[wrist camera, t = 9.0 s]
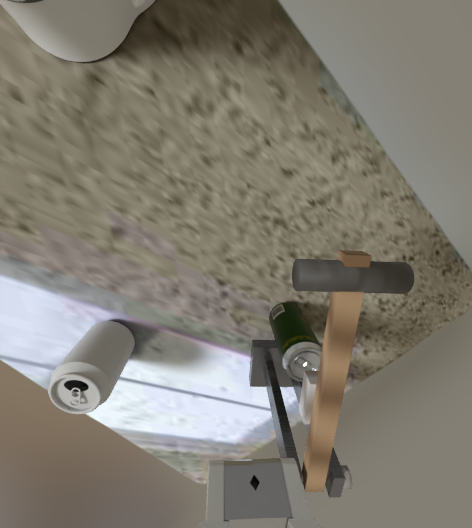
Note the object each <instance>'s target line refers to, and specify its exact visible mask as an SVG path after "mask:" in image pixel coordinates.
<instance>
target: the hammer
mask: <svg viewBox="0 0 472 528" xmlns="http://www.w3.org/2000/svg"><path fill="white" fill-rule="evenodd" d="M371 257H372V256H371V255H369V254H367V253H365V252H363V251H344V250H338V256H337V260H315V259H296V260H295V262H294V265H293V270H292V282H293V287H294V289H295V290H296V291H321V292H332V293H331V299H330V305H329V311H328V317H327V323H326V329H325V335H324V341H323V347H322V353H321V359H320V365H319V371H310V370H304V376H303V383H302V390H301V397H300V403H299V411H300V414H301V417H302V420H303V422H304V424H310V426H309V432H308V439H307V444H306V450H305V456H304V462H303V469H302V475H303V485H304V489H305V492H313V491H314V492H317V491H324V487H325V482H326V477H327V472H328V467H329V463H330V458H331V453H332V448H333V442H334V438H335V433H336V428H337V423H338V418H339V414H340V408H341V404H342V399H343V394H344V389H345V384H346V379H347V374H348V369H349V364H350V360H351V355H352V350H353V345H354V340H355V335H356V330H357V325H358V320H359V315H360V311H361V306H362V301H363V296H364V293H396V294H405V293H408V292H409V291H410V290H411V288H412V287H413V284H414V273H413V270H412V268H411V266H410V265H409V264H407V263H404V262H374V261H371Z"/></svg>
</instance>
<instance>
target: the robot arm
mask: <svg viewBox="0 0 472 528" xmlns="http://www.w3.org/2000/svg"><path fill="white" fill-rule="evenodd" d="M154 1H155V0H0V4H1V5H2V6H3V7H4V9H5V10H6V11H7V12H8V13H9V14H10V15H11V16H12V17H13V18H14V20H15V21H16V22H17V23H18V24H19V26H20V27H21V28H22V29H23V31H24V32H25V33H26V34H27V35H28V36H29V37H30V38H31V39H32V40H33V41H34V42H35V43H36V44H38V45H39V46H40V47H41V48H43V49H44V50H46V51H47V52H49V53H51V54H53V55H55V56H57V57H59V58H62V59H65V60H69V61H75V62H89V61H94V60H98V59H100V58H103V57H105V56H107V55H108V54H110V53H111V52H113V51H114V50H115V49H116V48H117V47H118V46H119V45H120V44H121V43H122V42H123V40H124V39H125V37H126V36H127V34H128V32H129V30H130V28H131V26H132V24H133V22H134V20H135V19H136V17H137V16H138V15H139V14H140V13H142V12H143V11H145V10H146V9H147V8H148V7H150V6H151V5H152V4H153V3H154ZM198 528H323V527H322V526H321V525H320V523H319V522H318V521H317V520H316V518H311V517H310V514H309V510H308V506H307V502H306V498H305V494H304V490H303V486H302V482H301V478H300V474H299V470H298V466H297V462H296V461H295V459H294V458H272V459H253V460H225V461H224V460H216V461H209V466H208V483H207V504H206V522H201V523H200V525H199V527H198Z"/></svg>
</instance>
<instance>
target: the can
mask: <svg viewBox="0 0 472 528" xmlns="http://www.w3.org/2000/svg"><path fill="white" fill-rule="evenodd" d="M134 345H135V341H134V337H133V335H132V333H131V331H130V330H129V329H128V328H127V327H126V326H124V325H122V324H120V323H117V322H113V321H103V322H99V323H97V324H95V325H94V326H92V327H91V328H90V330H89V331H88V332H87V333H86V334H85V335H84V336H83V338H82V339H81V340H80V341H79V342H78V343H77V345H76V346H75V347H74V348H73V349H72V350H71V352H70V353H69V354H68V355H67V356H66V357H65V359H64V360H63V361H62V362H61V363H60V364H59V366H58V367H57V368H56V369H55V371H54V372H53V374H52V375H51V381H50V386H49V391H48V393H49V397H50V399H51V401H52V402H53V403H54V405H55V406H57V407H58V408H60V409H61V410H63V411H65V412H68V413H73V414H85V413H88V412H91V411H93V410H94V409H96V408H97V407H98V406H99V405H101V404H102V403H104V402H105V401H106V400H107V399H108V397H109V396H110V394H111V392H112V390H113V388H114V386H115V384H116V382H117V381H118V379H119V377H120V375H121V373H122V371H123V369H124V367H125V365H126V363H127V361H128V359H129V357H130V355H131V353H132V351H133V349H134Z"/></svg>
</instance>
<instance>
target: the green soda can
mask: <svg viewBox="0 0 472 528" xmlns="http://www.w3.org/2000/svg"><path fill="white" fill-rule="evenodd" d="M269 321H270V325H271V328H272V331H273V334H274V338H275V341H276V344H277V348H278V351H279V354H280V358H281V361H282V364H283V367H284V369H285V370H286V371H287V373H288V375H289V376H290V377H291V378H292V379H294V380H297V381H302V382H303V376H304V370H310V371H319V365H320V359H321V353H322V347H321V345H320V344H319V342H318V340H317V338H316V336H315V335H314V333H313V331H312V329H311V327H310V326H309V324H308V322H307V320H306V318H305V317H304V315H303V313H302V311H301V309H300V308H299V307H298V306H297V305H295V304H293V303H291V302H281V303H279V304H277V305H276V306H274V307H273V309H272V310H271V312H270V316H269Z"/></svg>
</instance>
